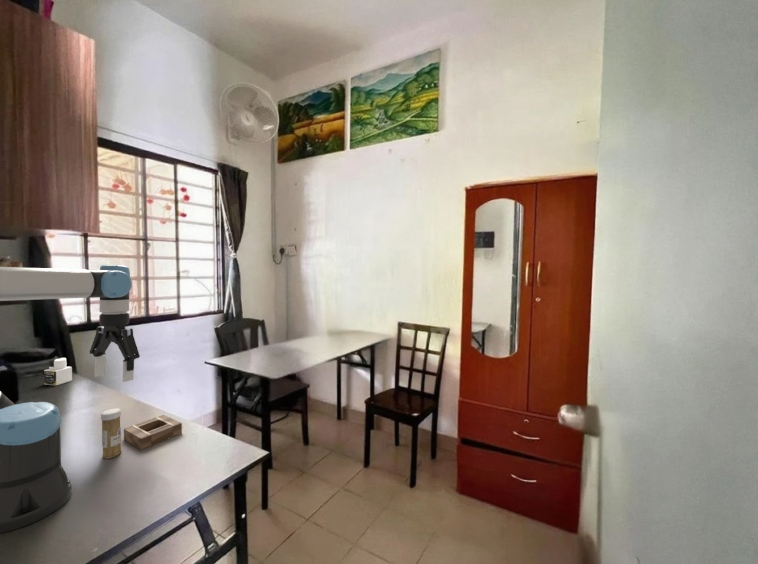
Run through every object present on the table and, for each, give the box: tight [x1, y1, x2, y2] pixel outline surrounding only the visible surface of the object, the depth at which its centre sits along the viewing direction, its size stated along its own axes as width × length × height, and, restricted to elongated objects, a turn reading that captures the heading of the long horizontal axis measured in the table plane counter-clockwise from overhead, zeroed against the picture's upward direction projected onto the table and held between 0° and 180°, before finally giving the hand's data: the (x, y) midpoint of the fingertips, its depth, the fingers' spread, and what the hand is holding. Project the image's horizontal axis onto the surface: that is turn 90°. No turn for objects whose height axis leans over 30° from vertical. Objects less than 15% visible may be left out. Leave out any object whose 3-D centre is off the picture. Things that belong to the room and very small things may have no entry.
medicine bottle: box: [43, 357, 73, 386], centre depth 159 cm, size 7×7×12 cm
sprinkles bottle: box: [100, 408, 122, 459], centre depth 97 cm, size 5×5×13 cm
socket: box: [123, 414, 183, 451], centre depth 108 cm, size 12×12×4 cm
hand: (113, 378), depth 105 cm, fingers open, 13 cm apart
